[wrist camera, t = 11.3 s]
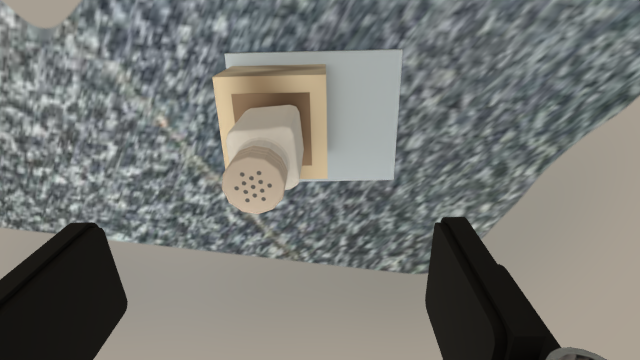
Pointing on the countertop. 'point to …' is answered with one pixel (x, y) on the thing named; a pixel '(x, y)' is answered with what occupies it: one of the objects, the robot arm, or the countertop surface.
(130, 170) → the countertop surface
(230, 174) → the pepper shaker
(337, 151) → the pale grey rectangular plate
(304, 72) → the plinth
